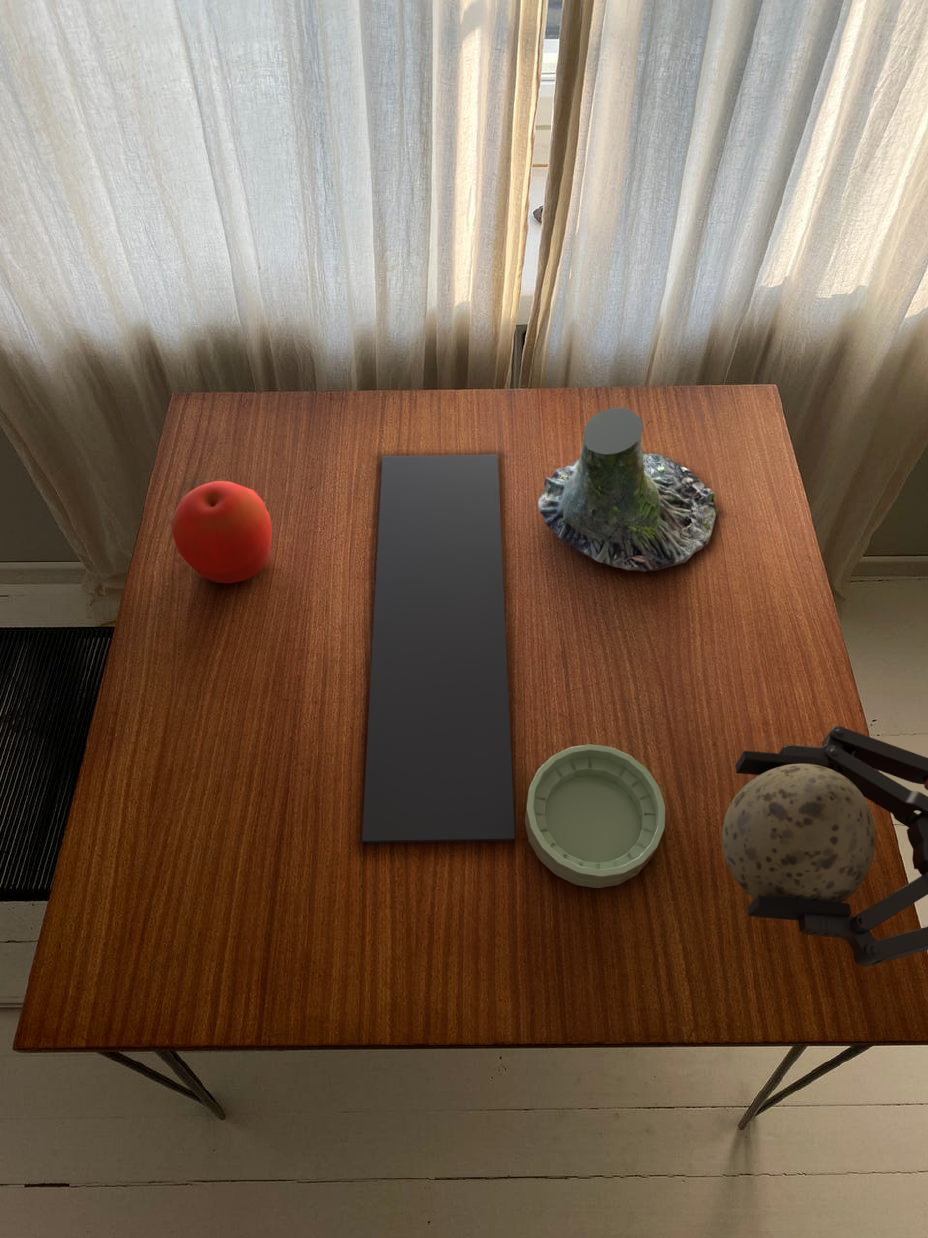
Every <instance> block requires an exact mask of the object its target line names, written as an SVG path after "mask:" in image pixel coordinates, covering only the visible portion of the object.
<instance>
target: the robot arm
mask: <svg viewBox="0 0 928 1238" xmlns="http://www.w3.org/2000/svg"><path fill="white" fill-rule="evenodd" d="M790 764H814V765H819V766H823V767H826V768H829V769H832V770H834V771H836V772H838V773H839V774H841V775H843V776H844V777H846V778H847V779H849V780H850V781H851V782H852V783H853V784H854V785H855V786H856V787H857V788H858V789H859V791H860V792H861V793H862V795H863V796H864V798H865V799H866V800H869V801H871V802H872V803H874V804H876V805H877V806H878V807H880V808H882V809H883V810H885V811H886V812H888V813H890V814H892V815H893V818H894V819H895V821H897V822H899V823H900V824H902V825H903V826H905V827H907V829H906V835H907V839H908V842H909V844H910V846H911V848H912V857H911V859H912V860H911V861H912V864H913V865H912V866H913V869H914V870H917V871H918V873H919V874H920V876H919V877H917V878H915V879H914V880H912V881H910V882H909V883H907V884H905V885H904V886H902V887H901V888H899V889H898V890H896V891H894V892H892V893H891V894H889V895H888V896H886V897H885V898H883V899H881V900H880V901H878V902H876V903H874V904H873V905H871V906H870V907H868V908H867V909H865V910H863V911H861V912H859V913H858V914H857V915H855V916H851V915H852V908H851V903H847V902H842V903H837V902H825V901H814V900H802V899H791V898H779V897H768V896H757V897H756V899H753V900H752V902H750V904H749V905H748V906H747V909H748V917H753V918H764V919H775V920H776V919H777V920H788V921H796V922H798V930H799V933H801V934H803V935H806V936H816V937H827V938H835V939H843V940H844V941H846V942H847V943H848V944H849V946H850V948H851V950H852V951H853V960H854V962H855V964H856V965H858V966H859V967H862V968H868V967H872V966H875V965H878V964H883V963H885V962H889V961H893V960H896V959H901V958H904V957H908V956H912V955H914V954H915V955H916V954H919V953H922V952H926V951H928V926H925V927H920V928H917V929H914V930H909V931H906V932H903V933H899V934H895V935H891V936H888V937H884V938H880V939H877V940H876V938H875V937H874V936H873V934H872V931H871V930H873V929H874V928H877V926H879V925H882V924H883V923H884V922H886V921H887V920H889V919H890V918H892V917H894V916H896V915H897V914H899V913H900V912H902V911H904V910H905V909H907V908H908V907H910V906H912V905H913V904H915V903H916V902H918V901H920V900H921V899H923V898H925V897H926V896H928V795H926V794H924V793H923V792H921V791H917V790H910V789H909V788H907V787H905V786H904V785H902V784H901V783H899V782H898V781H896V780H894V779H892V778H891V777H889V776H887V775H890V776H893V777H895V778H898V779H901V780H903V781H906V782H909V783H912V784H918V785H923V787H924V789H925V790H926V791H928V757H927V756H924V755H922V754H918V753H917V752H916V753H915V752H913V751H910V750H907V749H904V748H901V747H899V746H896V745H894V744H891V743H887V742H886V741H882V740H880V739H876V738H873V737H871V736H868V735H866V734H863V733H860V732H857V731H854V730H852V729H850V728H846V727H843V726H840V725H835V726H833V727H832V728H831V730H830V731H829V732H828V733H827V735H826V736H825V737H824V739H823V740H822V742H821V746H809V745H795V744H788V745H784V746H782V748H781V749H780V751H779V752H778V753H777V752H763V751H753V750H752V751H751V750H743V752H742V754H741V755H740V756H739V758H738V760H737V761H736V763H735V773H736V774H743V775H751V776H753V775H754V776H758V775H760V774H762V773H764V772H766V771H768V770H771V769H774V768H777V767H780V766H784V765H790ZM884 773H885V774H887V775H885V774H884ZM916 811H918V812H919V813H917V812H916Z"/></svg>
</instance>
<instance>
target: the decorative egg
mask: <svg viewBox="0 0 928 1238" xmlns="http://www.w3.org/2000/svg"><path fill="white" fill-rule="evenodd" d="M872 813H873V812H872V811H871V808H870V805H869V803H868V802H867V798H866V797H864V796H863V795H862V793H861V792H860V791H859V789H858V788H857V787H856V786H855V785H854V784H853V783H852V782H851V781H850V780H849V779H847V778H846V777H844V776H843V775H841V774H839V773H838V772H836V771H834V770H832V769H829V768H826V767H823V766H819V765H814V764H790V765H784V766H780V767H777V768H774V769H771V770H768V771H766V772H764V773H762V774H760V775H756V776H755V777H753V778H752V779H751V780H750V781H748V782H747V783H746V784H745V785H744V786H743V787H742V788H741V789H740V790H739V791H737V793H736V795H735V796H734V797H733V799H732V801H731V802H730V804H729V806H728V807H727V811H726V813H725V816H724V820H723V823H722V824H723V825H722V830H721V844H722V852H723V856H724V859H725V862H726V865H727V867H728V869H729V872H730V873H731V875H732V876H733V878H734V880H735V881H736V882H737V884H738V885H739V886H740V888H741V889H742V890H743V891H745V893H747V894H748V895H749V896H750V897H751V898H753V900H755V899H756V897H757V896H768V897H779V898H791V899H802V900H814V901H825V902H837V903H844V901H846V900H847V899H848V898H850V897H851V896H852V895H853V894H854V893H855V892H856V891H857V890H858V889H859V887H860V886H861V885H862V883H863V882H864V880H865V878H866V877H867V875H868V873H869V870H870V869H871V866H872V864H873V863H872V862H873V859H874V855H875V851H876V850H875V849H876V826H875V821H874V817H873V814H872Z"/></svg>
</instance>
